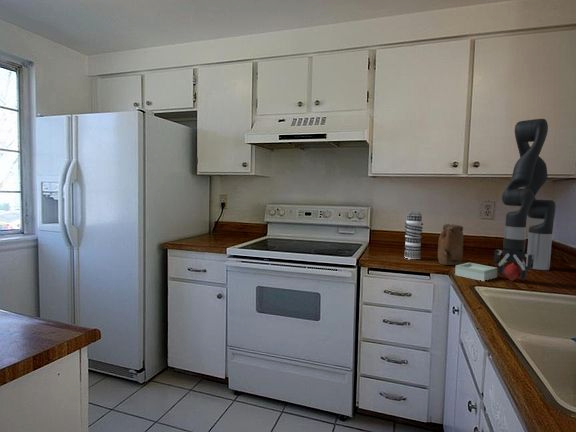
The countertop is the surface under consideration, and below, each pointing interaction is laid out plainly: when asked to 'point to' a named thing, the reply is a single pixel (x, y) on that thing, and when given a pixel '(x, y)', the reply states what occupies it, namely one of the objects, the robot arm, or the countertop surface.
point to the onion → (512, 271)
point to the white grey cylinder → (413, 235)
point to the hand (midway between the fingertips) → (511, 276)
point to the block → (450, 245)
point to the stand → (476, 271)
